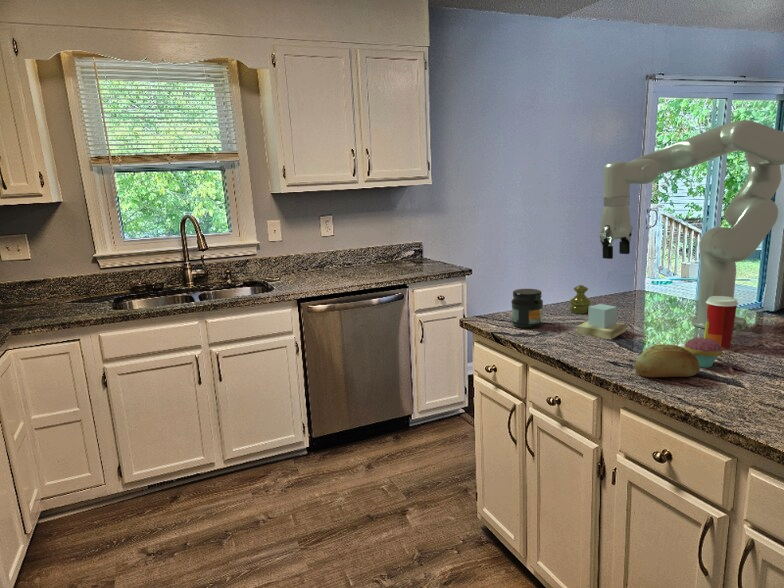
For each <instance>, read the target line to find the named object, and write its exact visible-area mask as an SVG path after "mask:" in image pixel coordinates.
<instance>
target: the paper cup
mask: <svg viewBox="0 0 784 588" xmlns="http://www.w3.org/2000/svg"><path fill="white" fill-rule="evenodd" d="M706 303H707V320H708V322H709V327H708V335H707V338H708V339H711V340H714V341H716V342H718V343H719V344H720V345H721V347H722V350H728V349H730V347H731V342H732V339H733V338H732V337H733V331H734V329H733V327H734V320H735V313H736V312H737V306H738V305H739V303H738V300H737V299H736V298H735V297H734V298H732V297H726V296H711V297H709V298H708V299H707V301H706ZM736 314H737V313H736Z"/></svg>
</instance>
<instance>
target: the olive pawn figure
mask: <svg viewBox="0 0 784 588" xmlns="http://www.w3.org/2000/svg"><path fill="white" fill-rule="evenodd" d="M588 290H589V288H588V287H586V286H584V285H582V284H579V285H577V286H575V287H573V291H574V292H576V295H575V296H573V298H570V300H569V303H570V305H569V311H570V313H572V314H577V315H584V314H585V315H586V314H587V315H588V309H589V307H590V306H591V304H592V300H591V299H590V298H589V297H588V296H586V294H585V293H586V292H587V291H588Z"/></svg>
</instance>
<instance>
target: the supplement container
mask: <svg viewBox="0 0 784 588" xmlns="http://www.w3.org/2000/svg"><path fill="white" fill-rule="evenodd" d="M542 296H543V295H542V290H540V289H538V288H537V289H536V288H518V289H515V290H513V291H512V297H513V298H512V300H511V301H510V302H511V324H512V325H513V326H514V327H516V328H518V329H519V328H520V329H535V328H536V329H537V328H540V327H541V326H543V322H544V319H543V316H544V315H543V312H544V311H543V310H544V308H543V306H544V301H543V299H542Z"/></svg>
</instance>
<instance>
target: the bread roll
mask: <svg viewBox="0 0 784 588" xmlns="http://www.w3.org/2000/svg"><path fill="white" fill-rule="evenodd" d="M634 369H635V373H636V374H637V375H638V376H641V377H646V378H673V377H674V378H676V377H681V378H682V377H684V378H685V377H692V376H693V377H694V376H695V375H697V374H698V373H699V371H700V370H701V367H700V365H699V362H698V359H697V358H696V357H695V356H694V355H693V354H692V353H691V352H690V351H688V350H686V349H684V347H682V346H679V345H675V344H664V343H663V344H655V345H651V346H649V347H648V348H645V350H643V351H642V352H641V354H640V355H639V356H638V358H637V359H636V361H635V363H634Z"/></svg>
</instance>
